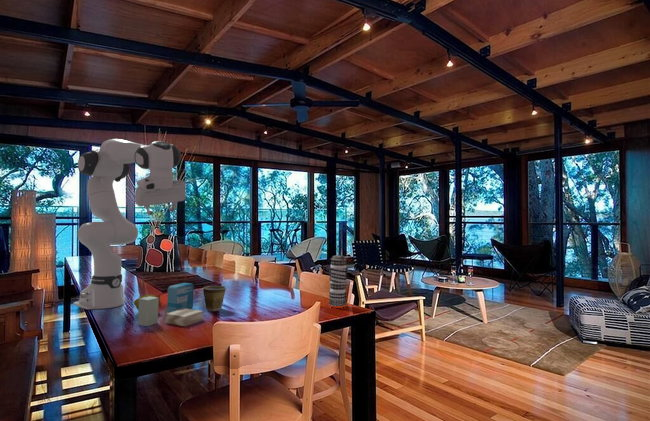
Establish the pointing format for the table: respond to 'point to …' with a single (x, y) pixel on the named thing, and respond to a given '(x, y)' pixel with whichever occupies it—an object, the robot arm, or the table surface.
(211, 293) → the ceramic cup
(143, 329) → the table surface
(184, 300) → the blue rounded box
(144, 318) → the sage block
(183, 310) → the birch block
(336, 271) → the decorative candle
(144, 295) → the lemon
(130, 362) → the table surface
